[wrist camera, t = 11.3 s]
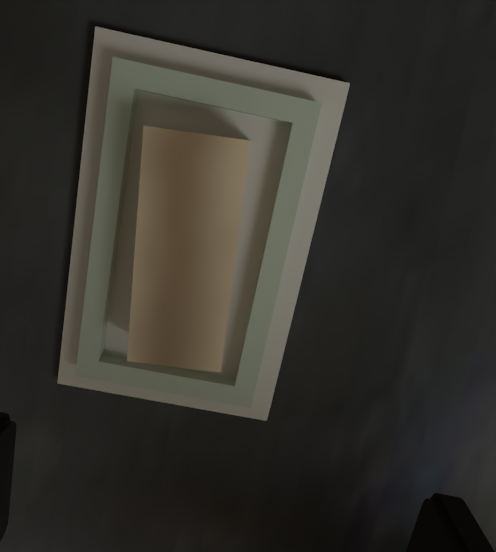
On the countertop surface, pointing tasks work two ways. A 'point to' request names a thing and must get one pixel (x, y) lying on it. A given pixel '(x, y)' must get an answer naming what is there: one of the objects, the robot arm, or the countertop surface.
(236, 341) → the white flat rectangular tray
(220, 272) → the birch tile
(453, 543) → the robot arm
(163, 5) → the countertop surface
